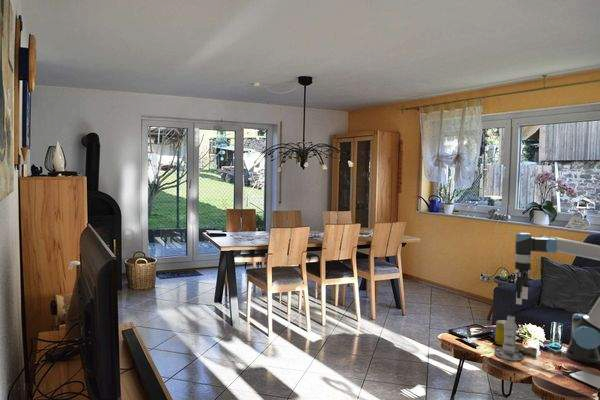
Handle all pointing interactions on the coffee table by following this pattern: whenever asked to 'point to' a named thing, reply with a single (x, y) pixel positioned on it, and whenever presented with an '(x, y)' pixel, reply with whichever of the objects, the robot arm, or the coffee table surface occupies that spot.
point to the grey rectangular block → (526, 350)
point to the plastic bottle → (509, 335)
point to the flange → (508, 355)
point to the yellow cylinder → (499, 332)
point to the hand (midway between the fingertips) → (521, 301)
